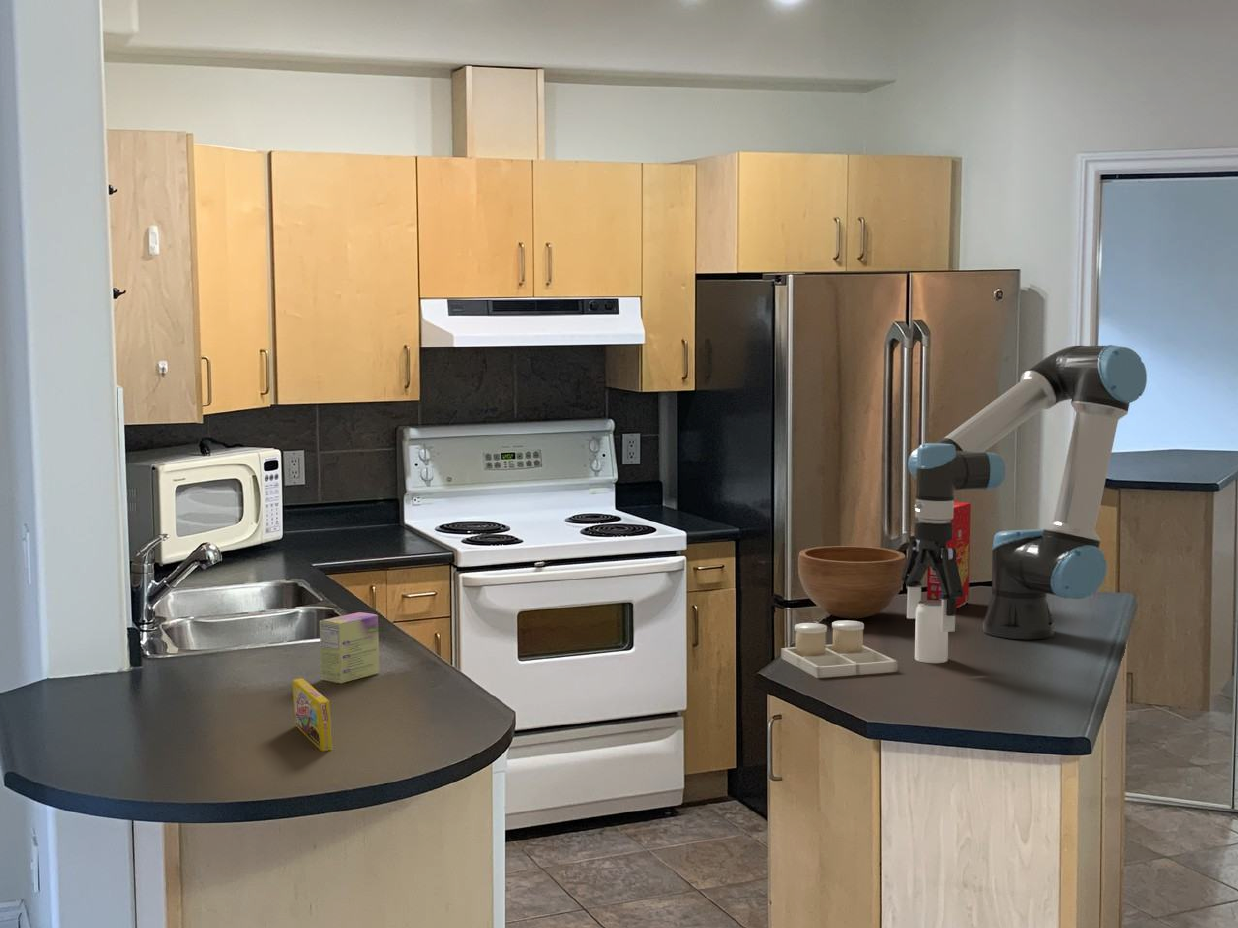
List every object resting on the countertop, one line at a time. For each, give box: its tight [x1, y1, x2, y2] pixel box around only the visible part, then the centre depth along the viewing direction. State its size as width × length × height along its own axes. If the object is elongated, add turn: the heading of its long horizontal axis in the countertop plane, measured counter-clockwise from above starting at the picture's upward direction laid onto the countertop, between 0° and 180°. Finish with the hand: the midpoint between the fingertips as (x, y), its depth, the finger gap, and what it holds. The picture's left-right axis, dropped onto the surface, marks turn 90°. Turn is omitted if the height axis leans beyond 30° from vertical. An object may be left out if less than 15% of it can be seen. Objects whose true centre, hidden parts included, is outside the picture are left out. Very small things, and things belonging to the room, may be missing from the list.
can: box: [914, 599, 949, 664], centre depth 275 cm, size 6×6×12 cm
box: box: [319, 611, 380, 684], centre depth 263 cm, size 10×6×12 cm, turn 145°
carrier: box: [780, 643, 899, 679], centre depth 271 cm, size 17×17×2 cm
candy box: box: [292, 677, 333, 752], centre depth 223 cm, size 16×2×8 cm, turn 28°
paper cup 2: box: [831, 619, 865, 654], centre depth 276 cm, size 6×6×7 cm
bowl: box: [797, 545, 907, 620], centre depth 318 cm, size 25×25×15 cm
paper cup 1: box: [794, 622, 828, 657], centre depth 273 cm, size 6×6×7 cm
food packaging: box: [926, 501, 972, 608], centre depth 329 cm, size 15×5×25 cm, turn 147°
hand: (930, 624), depth 274 cm, fingers open, 13 cm apart
